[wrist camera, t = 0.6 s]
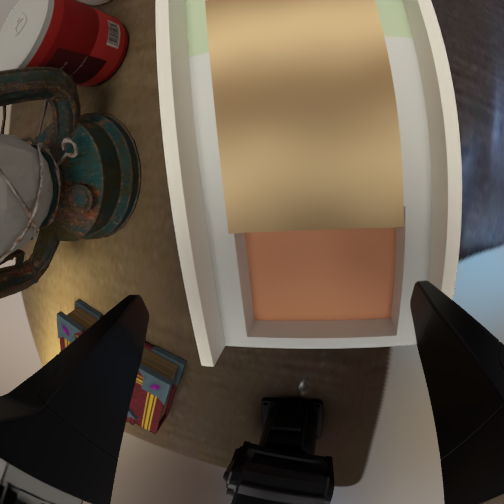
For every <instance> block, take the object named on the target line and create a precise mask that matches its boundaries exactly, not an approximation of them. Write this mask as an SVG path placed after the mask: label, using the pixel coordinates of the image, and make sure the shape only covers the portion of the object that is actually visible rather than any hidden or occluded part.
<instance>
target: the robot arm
mask: <svg viewBox="0 0 504 504" xmlns="http://www.w3.org/2000/svg"><path fill="white" fill-rule="evenodd" d="M410 308H411V314H412V319H413V324H414V330H415V336H416V342H417V347H418V351H419V355H420V359H421V363H422V367H423V370H424V375H425V378H426V383H427V387H428V391H429V396H430V401H431V406H432V410H433V416H434V421H435V427H436V432H437V438H438V445H439V451H440V459H441V468H442V477H443V487H444V500H445V504H504V345H503V344H502V343H501V342H499V340H498V339H497V338H496V337H495V336H493V335H492V334H491V333H490V332H489V331H488V330H487V329H486V328H485V327H483V326H482V325H481V324H480V323H479V322H477V321H476V320H475V319H474V318H473V317H472V316H471V315H469V314H468V313H467V312H466V311H465V310H464V309H462V308H461V307H460V306H459V305H457V304H456V303H455V302H454V301H453V300H452V299H450V298H449V297H448V296H447V295H445V294H444V293H443V292H442V291H440V290H439V289H438V288H437V287H435V286H434V285H433V284H432V283H430V282H429V281H427V280H424V281H417V282H416V283H415V285H414V288H413V292H412V296H411V299H410ZM148 322H149V312H148V310H147V308H146V306H145V303H144V301H143V299H142V297H141V296H140V295H129V296H127V297H126V298H125V299H123V300H122V301H121V302H120V303H118V304H117V305H116V306H115V307H114V308H112V309H111V310H110V311H109V312H107V313H106V314H105V315H104V316H103V317H101V318H100V319H99V320H98V321H97V322H95V323H94V324H93V325H92V326H90V327H89V328H88V329H87V330H86V331H85V332H83V333H82V334H81V335H80V336H79V337H77V338H76V339H75V340H74V341H73V342H72V343H70V344H69V345H68V346H67V347H66V348H64V349H63V350H62V351H61V352H60V353H59V354H57V355H56V356H55V357H54V358H53V359H52V360H51V361H49V362H48V363H47V364H46V365H45V366H43V367H42V368H41V369H40V370H39V371H37V372H36V373H35V374H33V375H32V376H31V377H29V378H28V379H27V380H25V381H24V382H23V383H22V384H20V385H19V386H18V387H16V388H15V389H14V390H12V391H11V392H9V393H8V394H6V395H3V396H0V504H82V503H83V500H84V501H86V502H89V503H92V504H110V501H111V495H112V489H113V484H114V477H115V473H116V467H117V461H118V456H119V451H120V446H121V442H122V437H123V432H124V428H125V423H126V419H127V415H128V411H129V406H130V402H131V398H132V394H133V390H134V386H135V382H136V378H137V375H138V371H139V367H140V364H141V360H142V356H143V351H144V345H145V339H146V333H147V327H148ZM265 402H266V403H265ZM317 404H319V405H317ZM261 409H262V416H263V424H264V428H263V431H262V435H261V438H260V442H259V445H256V444H252V443H250V442H247V441H244V444H243V446H241V447H240V448H238V449H236V450H235V453H234V455H233V458H232V461H231V463H230V464H229V466H228V468H227V470H226V472H225V473H224V476H223V479H224V480H225V482H226V483H227V485H226V488H227V493H226V494H227V495H231V496H234V497H233V500H232V503H231V504H330V502H331V498H332V495H333V490H334V473H333V462H332V457H330V456H326V457H324V456H316V455H314V454H315V446H316V439H319V438H320V437H321V426H322V412H323V402H322V401H320V400H291V399H271V398H264V399H262V401H261Z"/></svg>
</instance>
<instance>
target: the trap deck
mask: <svg viewBox="0 0 504 504" xmlns="http://www.w3.org/2000/svg"><path fill="white" fill-rule="evenodd" d="M205 1H206V0H156V49H157V70H158V87H159V101H160V113H161V124H162V135H163V145H164V154H165V163H166V171H167V179H168V187H169V194H170V201H171V208H172V215H173V222H174V228H175V235H176V241H177V247H178V253H179V258H180V264H181V270H182V275H183V280H184V286H185V291H186V296H187V301H188V306H189V311H190V316H191V320H192V325H193V330H194V334H195V339H196V343H197V348H198V352H199V356H200V360H201V365H202V366H210V367H214V365H215V364H216V362H217V360H218V358H219V356H220V354H221V353H222V351H223V349H224V347H225V346H240V347H261V348H299V349H330V348H367V347H387V346H402V345H416V344H417V342H416V336H415V330H414V324H413V319H412V314H411V308H410V299H411V296H412V292H413V288H414V285H415V283H416V282H417V281H424V280H427V281H429V282H430V283H432V284H433V285H434V286H435V287H437V288H438V289H439V290H440V291H442V292H443V293H444V294H445V295H447V296H448V297H449V298H450V299H452V300H453V296H454V289H455V282H456V275H457V267H458V258H459V247H460V234H461V215H462V167H461V148H460V136H459V125H458V117H457V109H456V102H455V95H454V89H453V83H452V78H451V73H450V68H449V63H448V59H447V54H446V50H445V46H444V42H443V38H442V35H441V31H440V28H439V24H438V21H437V18H436V14H435V11H434V8H433V5H432V2H431V0H375V3H376V7H377V10H378V14H379V18H380V22H381V26H382V30H383V34H384V38H385V43H386V47H387V52H388V57H389V62H390V67H391V73H392V78H393V84H394V91H395V98H396V105H397V113H398V121H399V131H400V141H401V154H402V171H403V202H404V225H403V227H392V228H356V229H325V230H299V231H275V232H253V233H232V234H229V233H228V224H227V216H226V208H225V199H224V191H223V182H222V173H221V164H220V155H219V146H218V136H217V127H216V117H215V107H214V97H213V87H212V76H211V65H210V54H209V43H208V31H207V19H206V7H205Z"/></svg>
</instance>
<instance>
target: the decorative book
mask: <svg viewBox="0 0 504 504" xmlns="http://www.w3.org/2000/svg"><path fill="white" fill-rule="evenodd" d="M102 315H103V314H101V313H100V312H98V311H97V310H95V309H94V308H92V307H91V306H89V305H87V304H86V303H85V302H83V301H82V300H80V299H78V300H77V301H76V303H75V310H73V311H72V312H71V313H69V314H68V315H65V314H64V313H63V312H61V311H60V312H59V313H57V327H58V338H60V347H61V351H62V350H63V349H64V348H66V347H67V346H68V345H69V344H70V343H72V342H73V341H74V340H75V339H76V338H77V337H79V336H80V335H81V334H82V333H83V332H85V331H86V330H87V329H88V328H89V327H90V326H92V325H93V324H94V323H95V322H97V321H98V320H99V319H100V318H101V317H103V316H102ZM185 364H186V361H185V360H183V359H181V358H179V357H177V356H175V355H173V354H171V353H169V352H167V351H165V350H163V349H162V348H160V347H158V346H156V345H155V346H152V345H150V344H148V343H147V342H145V345H144V351H143V356H142V360H141V364H140V367H139V371H138V375H137V378H136V382H135V386H134V390H133V394H132V398H131V402H130V406H129V411H128V415H127V419H126V421H127V422H129V423H130V424H132V425H134V423H136V424H138V425H139V426H141V427H143V428H145V429H147V430H148V431H150V432H152V433H154V434H156V433H157V431H158V430H159V428H160V427H161V425H162V423H163V422H164V420H165V419H166V417H167V415H168V413H169V410H170V406H171V403H172V400H173V397H174V393H175V390H176V387H177V386H178V384H179V382H180V379H181V376H182V373H183V370H184V367H185Z"/></svg>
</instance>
